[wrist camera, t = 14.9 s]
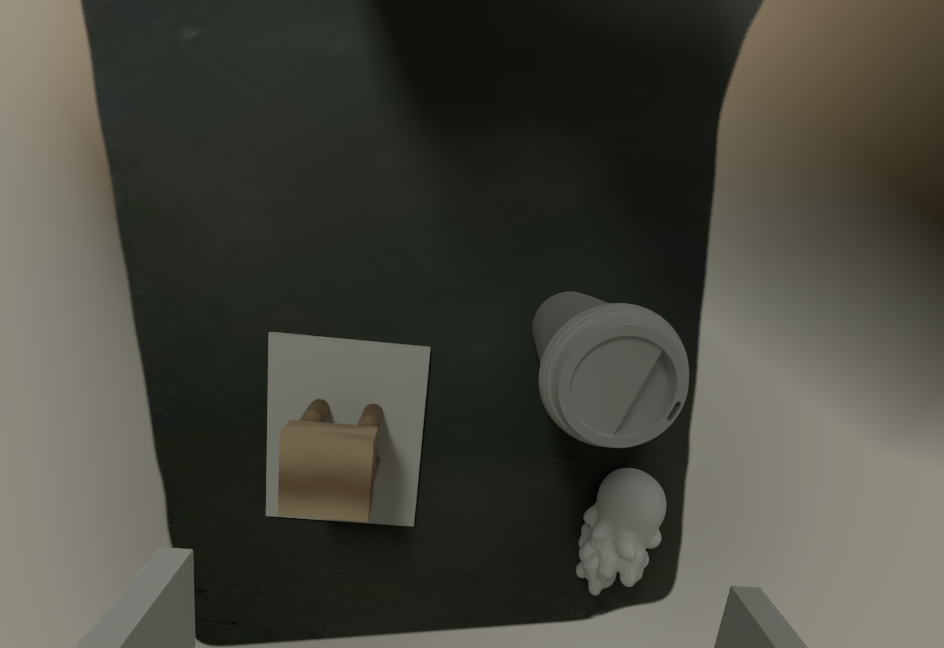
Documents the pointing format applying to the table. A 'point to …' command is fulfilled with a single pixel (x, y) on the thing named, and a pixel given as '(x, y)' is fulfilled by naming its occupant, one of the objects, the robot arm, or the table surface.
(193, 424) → the table surface
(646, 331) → the coffee cup
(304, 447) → the wooden stool
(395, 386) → the mat
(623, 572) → the figurine
